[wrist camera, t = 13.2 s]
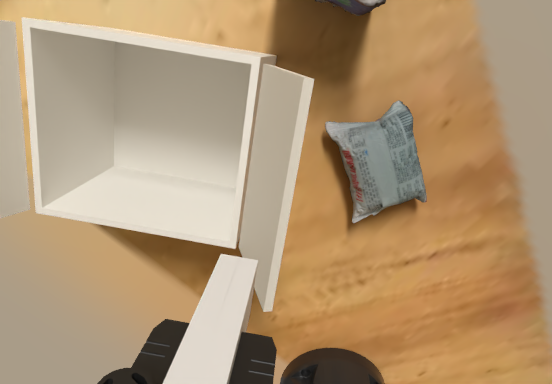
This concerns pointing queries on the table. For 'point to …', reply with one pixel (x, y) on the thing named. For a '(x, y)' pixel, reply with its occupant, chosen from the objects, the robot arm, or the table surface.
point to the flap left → (11, 128)
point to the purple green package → (356, 5)
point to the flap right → (273, 173)
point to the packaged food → (380, 161)
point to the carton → (141, 129)
